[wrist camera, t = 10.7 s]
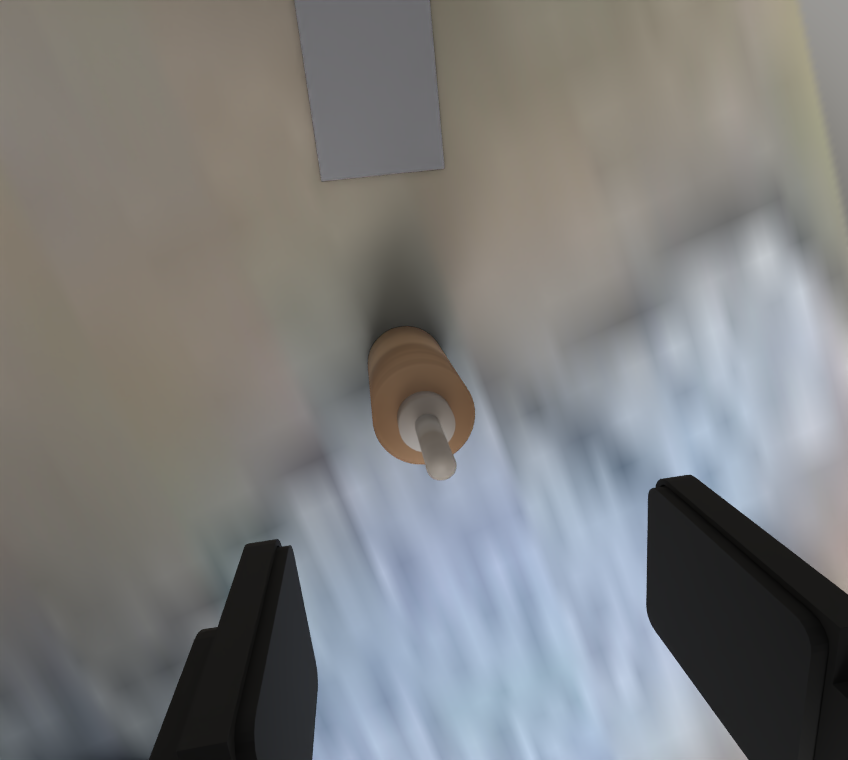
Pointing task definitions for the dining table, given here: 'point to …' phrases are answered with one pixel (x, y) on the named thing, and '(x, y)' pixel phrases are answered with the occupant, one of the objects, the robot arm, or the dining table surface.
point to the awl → (418, 400)
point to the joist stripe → (371, 86)
